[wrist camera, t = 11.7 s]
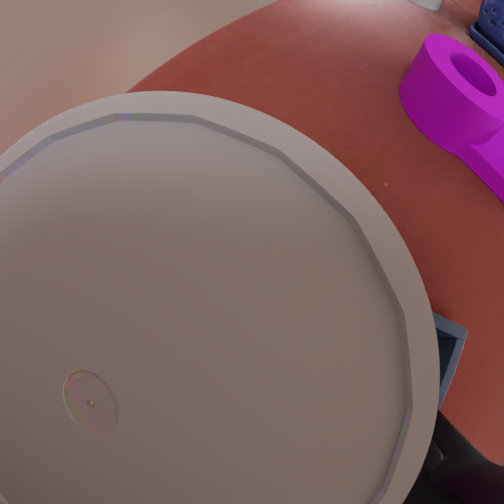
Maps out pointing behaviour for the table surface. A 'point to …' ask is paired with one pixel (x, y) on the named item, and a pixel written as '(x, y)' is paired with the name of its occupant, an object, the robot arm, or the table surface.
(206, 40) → the table surface
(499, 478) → the robot arm
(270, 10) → the table surface
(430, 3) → the mug
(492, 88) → the tape dispenser
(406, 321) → the bottle
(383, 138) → the table surface
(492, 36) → the flower pot
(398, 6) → the table surface
